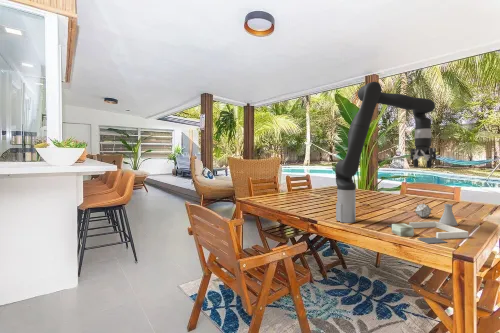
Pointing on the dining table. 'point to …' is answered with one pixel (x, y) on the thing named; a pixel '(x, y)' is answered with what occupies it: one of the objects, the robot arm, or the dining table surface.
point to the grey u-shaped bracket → (451, 230)
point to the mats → (429, 239)
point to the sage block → (403, 229)
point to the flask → (448, 216)
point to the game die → (423, 210)
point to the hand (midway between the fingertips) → (422, 167)
